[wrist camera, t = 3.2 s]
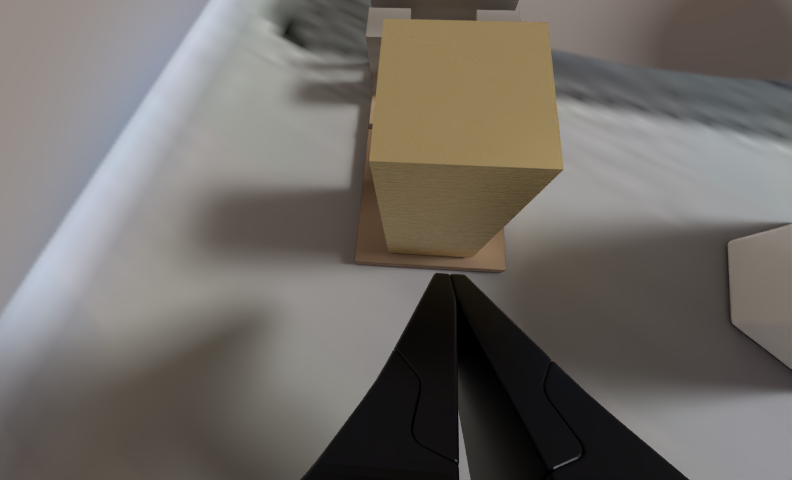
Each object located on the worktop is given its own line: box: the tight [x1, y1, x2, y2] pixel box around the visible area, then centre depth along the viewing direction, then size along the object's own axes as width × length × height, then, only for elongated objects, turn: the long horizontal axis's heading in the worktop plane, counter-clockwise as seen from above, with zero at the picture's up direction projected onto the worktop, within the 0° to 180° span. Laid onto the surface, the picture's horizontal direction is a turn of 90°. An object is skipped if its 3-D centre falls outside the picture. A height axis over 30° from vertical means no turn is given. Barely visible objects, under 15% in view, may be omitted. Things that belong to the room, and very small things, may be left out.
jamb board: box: [355, 0, 521, 273], centre depth 16 cm, size 14×8×5 cm, turn 176°
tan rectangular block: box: [369, 19, 563, 257], centre depth 12 cm, size 9×4×9 cm, turn 176°
